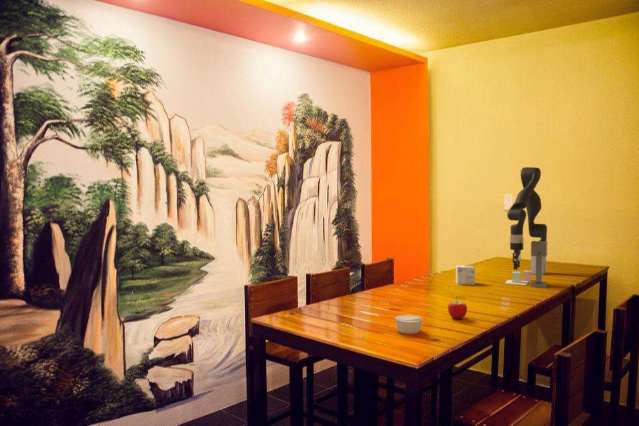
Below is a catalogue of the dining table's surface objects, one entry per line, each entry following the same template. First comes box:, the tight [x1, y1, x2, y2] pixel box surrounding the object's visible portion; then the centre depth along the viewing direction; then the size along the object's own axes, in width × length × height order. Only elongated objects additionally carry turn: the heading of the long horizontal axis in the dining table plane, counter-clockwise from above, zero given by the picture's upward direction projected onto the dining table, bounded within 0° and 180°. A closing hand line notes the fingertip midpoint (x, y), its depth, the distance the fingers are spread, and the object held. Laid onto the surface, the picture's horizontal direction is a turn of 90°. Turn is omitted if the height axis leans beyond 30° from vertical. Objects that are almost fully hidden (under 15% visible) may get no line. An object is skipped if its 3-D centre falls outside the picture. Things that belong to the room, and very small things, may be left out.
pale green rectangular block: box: [511, 271, 522, 283], centre depth 305 cm, size 4×4×6 cm
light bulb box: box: [455, 265, 476, 286], centre depth 304 cm, size 11×7×11 cm, turn 84°
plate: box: [504, 279, 530, 286], centre depth 305 cm, size 12×12×1 cm
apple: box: [447, 295, 468, 320], centre depth 226 cm, size 8×8×10 cm
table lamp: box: [530, 240, 548, 289], centre depth 293 cm, size 10×8×26 cm
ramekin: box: [394, 314, 423, 335], centre depth 208 cm, size 11×11×5 cm
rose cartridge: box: [522, 269, 533, 282], centre depth 311 cm, size 4×4×6 cm
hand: (516, 268), depth 305 cm, fingers open, 8 cm apart
